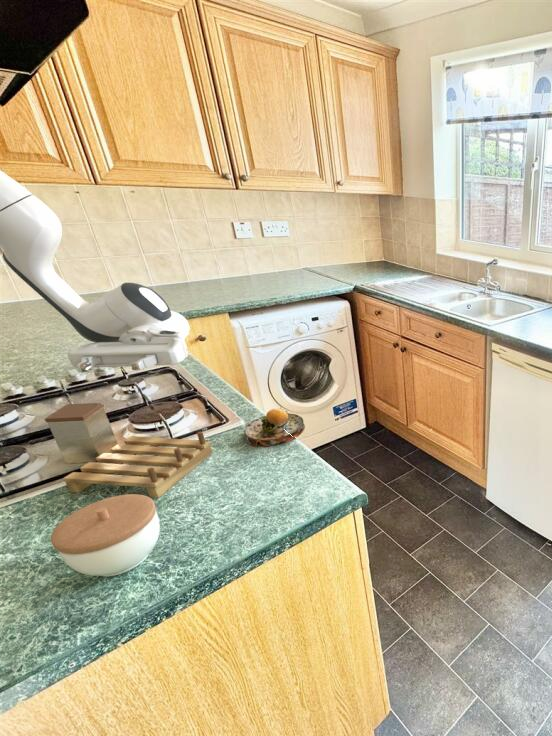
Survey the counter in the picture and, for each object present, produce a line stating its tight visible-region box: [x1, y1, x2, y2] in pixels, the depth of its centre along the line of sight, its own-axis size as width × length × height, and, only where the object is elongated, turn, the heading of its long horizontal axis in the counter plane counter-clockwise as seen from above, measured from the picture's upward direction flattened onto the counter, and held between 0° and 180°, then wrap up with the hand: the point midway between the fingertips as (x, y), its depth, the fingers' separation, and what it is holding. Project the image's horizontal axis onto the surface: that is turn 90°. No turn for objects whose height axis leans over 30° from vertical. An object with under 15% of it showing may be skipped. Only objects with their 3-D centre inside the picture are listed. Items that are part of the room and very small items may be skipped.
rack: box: [63, 431, 213, 499], centre depth 78 cm, size 16×14×6 cm
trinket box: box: [50, 493, 161, 578], centre depth 59 cm, size 11×11×9 cm
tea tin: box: [44, 402, 119, 465], centre depth 81 cm, size 6×6×10 cm
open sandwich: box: [243, 406, 306, 447], centre depth 92 cm, size 12×12×8 cm
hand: (109, 367), depth 88 cm, fingers open, 8 cm apart
